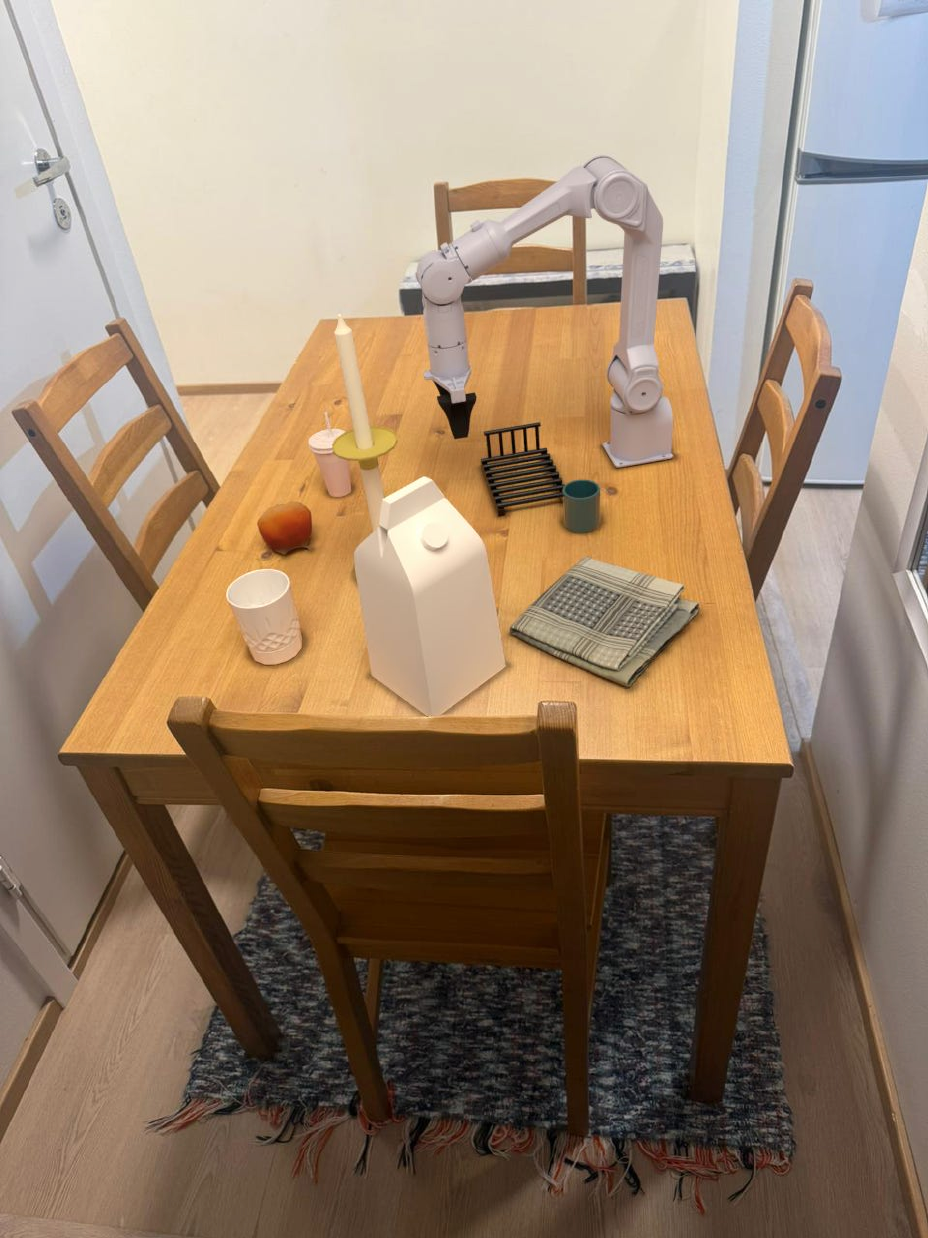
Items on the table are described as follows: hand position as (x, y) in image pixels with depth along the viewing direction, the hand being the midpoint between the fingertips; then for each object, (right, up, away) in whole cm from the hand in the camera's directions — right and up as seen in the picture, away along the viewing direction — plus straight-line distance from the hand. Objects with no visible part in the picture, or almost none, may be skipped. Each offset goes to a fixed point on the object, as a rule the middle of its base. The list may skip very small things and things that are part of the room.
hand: (457, 425), depth 135 cm
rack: (+11, -9, +4) cm, 14 cm away
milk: (-2, -36, -27) cm, 45 cm away
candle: (-10, -23, -10) cm, 26 cm away
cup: (+18, -16, -6) cm, 25 cm away
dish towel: (+19, -30, -24) cm, 43 cm away
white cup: (-23, -34, -21) cm, 46 cm away
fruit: (-25, -18, -2) cm, 31 cm away
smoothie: (-19, -9, +8) cm, 23 cm away
